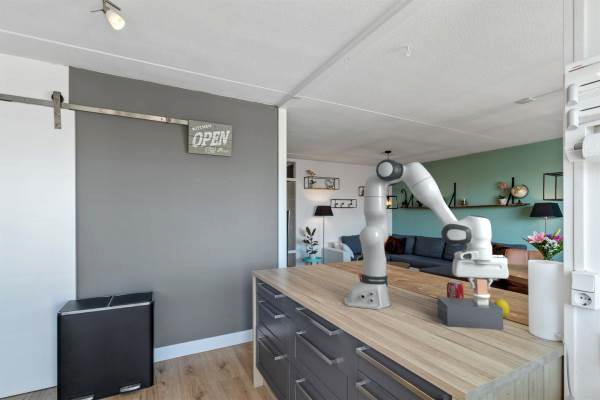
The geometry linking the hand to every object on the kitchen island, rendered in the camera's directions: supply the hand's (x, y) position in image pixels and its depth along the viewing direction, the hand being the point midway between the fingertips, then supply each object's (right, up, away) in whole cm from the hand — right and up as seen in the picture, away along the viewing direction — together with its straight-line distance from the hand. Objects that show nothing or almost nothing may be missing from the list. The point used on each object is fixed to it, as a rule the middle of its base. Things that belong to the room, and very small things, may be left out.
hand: (480, 288), depth 115 cm
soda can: (0, -15, +18) cm, 24 cm away
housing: (-5, -14, 0) cm, 15 cm away
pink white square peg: (0, -9, 0) cm, 9 cm away
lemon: (+12, -14, +4) cm, 19 cm away
